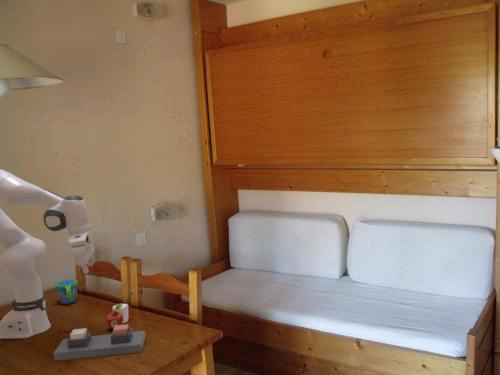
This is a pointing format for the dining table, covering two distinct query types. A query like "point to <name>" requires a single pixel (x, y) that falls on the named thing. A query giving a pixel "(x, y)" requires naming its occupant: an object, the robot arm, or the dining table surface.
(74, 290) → the snack cup
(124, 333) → the key brick
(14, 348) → the dining table surface
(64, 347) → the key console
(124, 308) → the white short cylinder
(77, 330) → the key ivory
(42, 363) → the dining table surface
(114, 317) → the apple
